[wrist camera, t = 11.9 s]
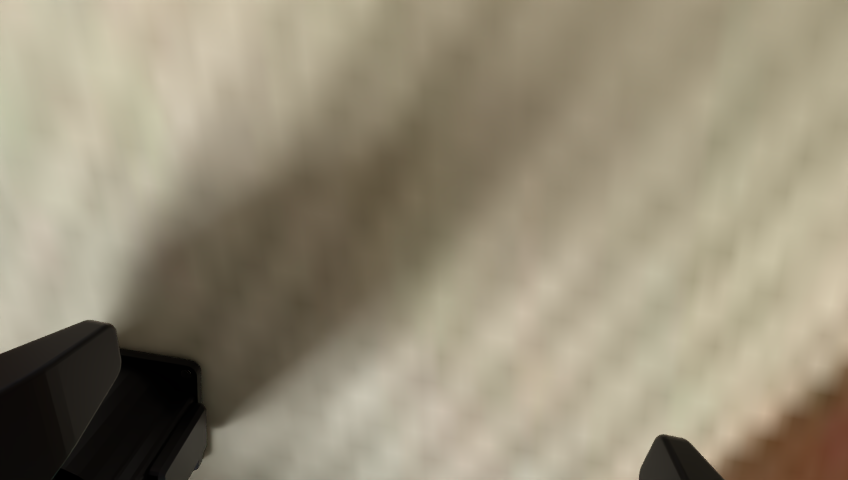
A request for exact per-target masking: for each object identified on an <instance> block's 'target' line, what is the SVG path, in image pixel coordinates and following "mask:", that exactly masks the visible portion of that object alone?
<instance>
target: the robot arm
mask: <svg viewBox="0 0 848 480" xmlns="http://www.w3.org/2000/svg"><path fill="white" fill-rule="evenodd" d="M185 370H188V371H189V372H191V373H188V372H187V371H185ZM206 446H207V439H206V408H205V406H204V404H202V397H201V368H200V366H199V365H198V364H197V363H196V362H194V361H191V360H187V359H180V358H174V357H168V356H162V355H156V354H150V353H144V352H137V351H131V350H125V349H119V344H118V338H117V332H116V329H115V327H114V326H113V325H111V324H109V323H104V322H99V321H94V320H86V321H83V322H80V323H78V324H75V325H72V326H70V327H67V328H65V329H62V330H60V331H57V332H55V333H52V334H50V335H47V336H45V337H42V338H40V339H37V340H34V341H32V342H29V343H27V344H24V345H22V346H19V347H17V348H14V349H12V350H9V351H7V352H4V353H2V354H0V480H188V479H189V477H190V475H191V474H192V472H193V471H194V470H197V469H198V468H199V466H200V464H201V462H202V459H203V455H202V454H203V452H204V450H205V448H206ZM639 480H724V479H723V478H722V477H721V475H720V474H719V473H718V472H717V471H716V470H715V469H714V468H713V467H712V466H711V465H710V464H709V463H708V461H707V460H706V459H705V458H704V457H703V456H702V455H701V454H700V453H699V452H698V451H697V450H696V449H695V447H694V446H693V445H692V444H691V443H690V442H689V441H687V440H686V439H683V438H679V437H674V436H669V435H664V434H663V435H659V436H658V437H656V439H655V440H654V442H653V444H652V446H651V448H650V450H649V452H648V454H647V456H646V458H645V460H644V462H643V464H642V466H641V469H640V473H639Z"/></svg>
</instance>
